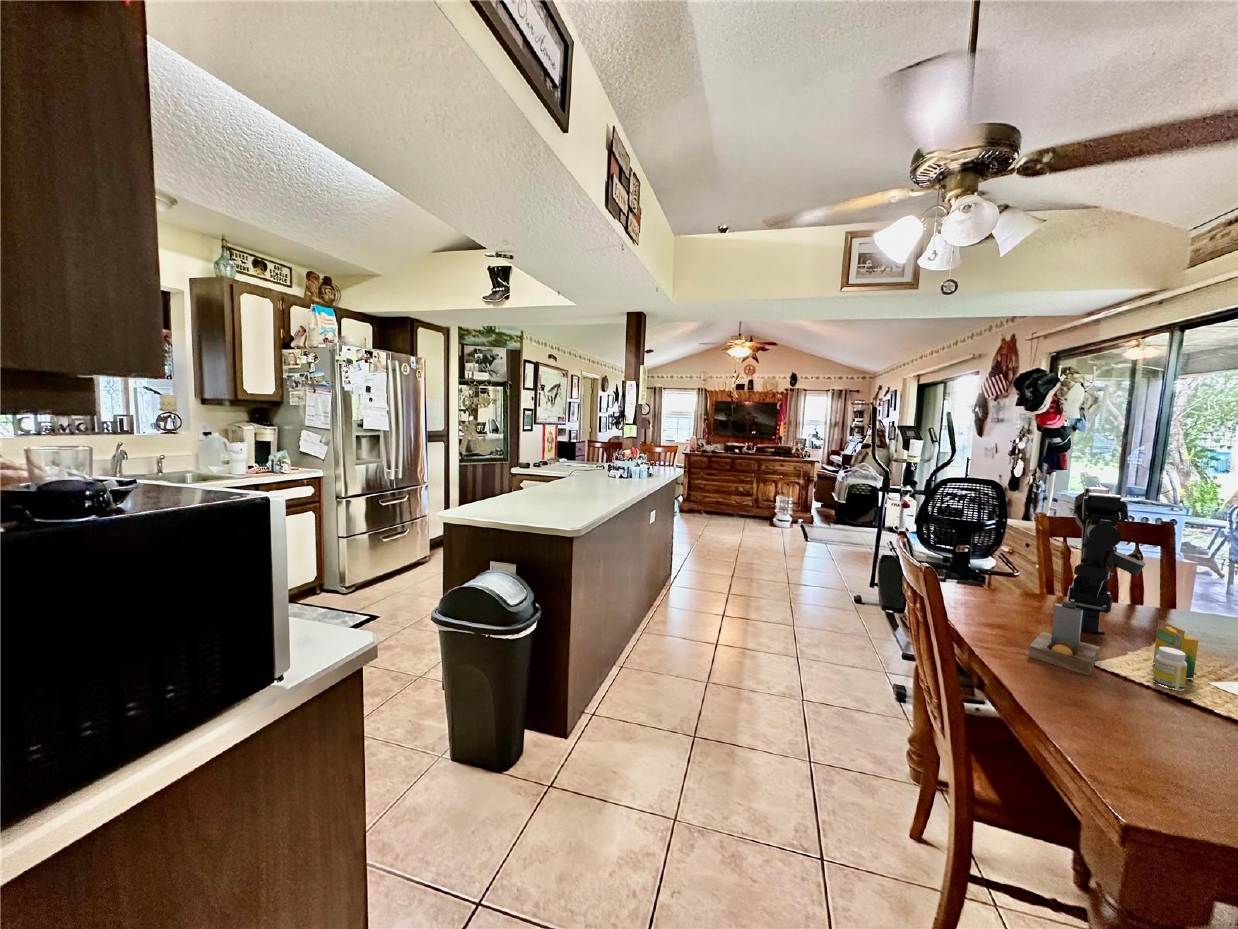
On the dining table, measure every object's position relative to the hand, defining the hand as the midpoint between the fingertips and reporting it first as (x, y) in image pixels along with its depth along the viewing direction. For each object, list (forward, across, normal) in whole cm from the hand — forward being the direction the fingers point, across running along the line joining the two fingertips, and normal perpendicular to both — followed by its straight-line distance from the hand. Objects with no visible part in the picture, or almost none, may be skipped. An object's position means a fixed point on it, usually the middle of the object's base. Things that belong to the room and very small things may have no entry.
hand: (1093, 597), depth 128 cm
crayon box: (+13, -4, -15) cm, 20 cm away
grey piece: (+10, -15, +3) cm, 19 cm away
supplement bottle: (+13, -14, -15) cm, 24 cm away
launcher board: (+13, -16, +3) cm, 21 cm away
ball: (+11, -18, +3) cm, 22 cm away
